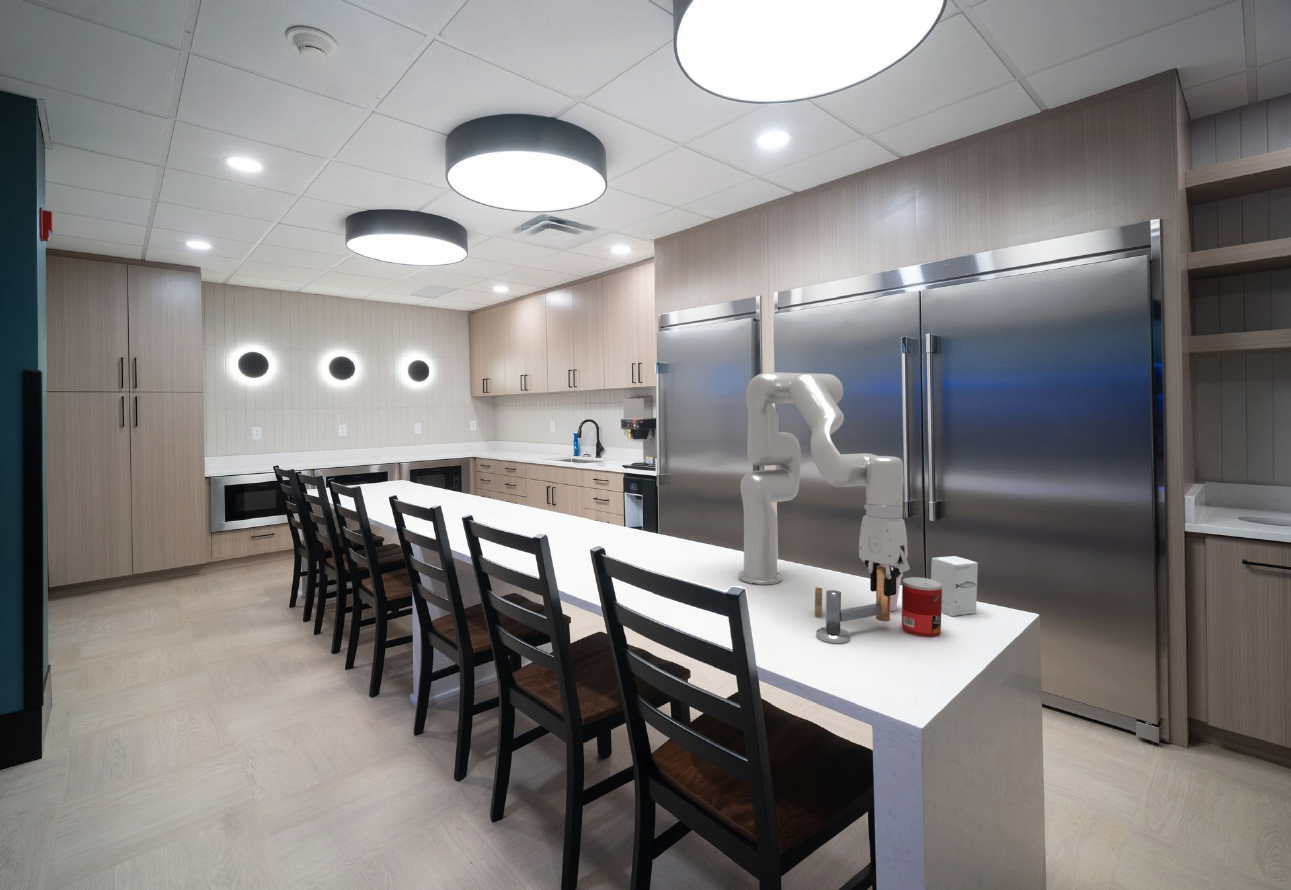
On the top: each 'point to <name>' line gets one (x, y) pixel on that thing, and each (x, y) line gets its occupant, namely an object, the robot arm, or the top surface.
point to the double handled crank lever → (837, 615)
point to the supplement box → (956, 584)
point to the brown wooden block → (818, 602)
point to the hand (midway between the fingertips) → (883, 592)
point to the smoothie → (895, 597)
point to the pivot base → (833, 636)
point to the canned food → (921, 606)
